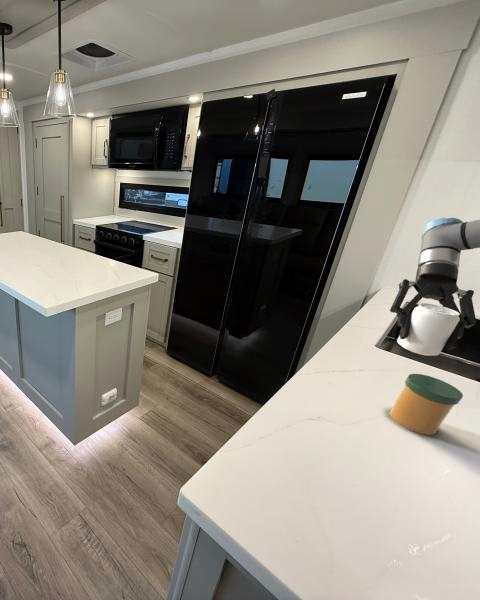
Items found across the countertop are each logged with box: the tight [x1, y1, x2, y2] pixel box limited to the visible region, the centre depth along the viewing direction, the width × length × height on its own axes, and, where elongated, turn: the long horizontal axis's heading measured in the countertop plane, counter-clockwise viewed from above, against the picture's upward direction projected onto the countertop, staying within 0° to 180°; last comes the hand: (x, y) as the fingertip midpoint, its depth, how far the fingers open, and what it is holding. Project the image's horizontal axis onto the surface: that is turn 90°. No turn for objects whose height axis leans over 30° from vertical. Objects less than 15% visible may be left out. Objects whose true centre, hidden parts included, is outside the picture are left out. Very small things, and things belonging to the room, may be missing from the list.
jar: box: [389, 384, 455, 436], centre depth 73 cm, size 8×8×10 cm
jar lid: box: [404, 373, 464, 406], centre depth 71 cm, size 9×9×2 cm
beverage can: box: [397, 302, 460, 357], centre depth 81 cm, size 8×8×12 cm
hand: (426, 342), depth 79 cm, fingers closed on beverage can, 8 cm apart
